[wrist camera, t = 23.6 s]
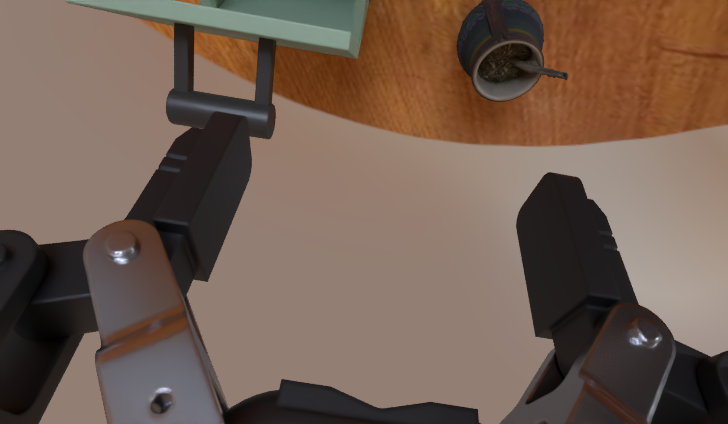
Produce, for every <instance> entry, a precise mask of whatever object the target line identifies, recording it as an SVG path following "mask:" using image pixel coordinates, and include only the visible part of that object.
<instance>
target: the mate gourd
mask: <svg viewBox="0 0 728 424" xmlns="http://www.w3.org/2000/svg"><path fill="white" fill-rule="evenodd" d="M543 42H544V31H543V24H542V22H541V20H540V17H539V14H537V12H536V11H535V10H534V9H533V8H532V7H531V6H530V5H529V4H528V3H526V2H524V1H522V0H484V1H482V2H481V3H480V4H479V5H478V6H477V7H475V8H474V9H473V10H472V11H471V12H470V13H469V14H468V15H467V17H466V18H465V20H464V21H463V24H462V27H461V30H460V32H459V35H458V41H457V52H458V58H459V61H460V64H461V65H462V67H463V69H464V71H465V72H466V73H467V74H468V75H469V76H470V77H471V80H472V84H473V87H474V89H475V90H476V92H477V93H478V94H479V95H480V96H482V97H483V98H485V99H488V100H491V101H497V102H502V101H509V100H512V99H515V98H518V97H520V96H522V95H523V94H525V93H526V92H528V91H529V90H530V89H531V88H532V87H533V86H534V85H535V84H536V83H537V82H538V80H539V78H540V77H541V74H542V75H547V76H549V77H553V78H555V77H558V78H562V79H565V80H567V79H568V74H567V73H565V72H560V71H556V70H553V69H547V68H544V56H543V53H542V46H543Z"/></svg>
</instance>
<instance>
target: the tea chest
mask: <svg viewBox="0 0 728 424" xmlns="http://www.w3.org/2000/svg"><path fill="white" fill-rule="evenodd" d="M200 4H201V5H202V6H208V7H214V8H220V9H225V10H231V11H237V12H242V13H248V14H254V15H259V16H265V17H271V18H276V19H282V20H288V21H293V22H299V23H305V24H311V25H316V26H322V27H328V28H333V29H339V30H345V31H350V32H351V34H352V36H353V38H354V40H355V42H356V44H357V46H358V48H359V49H360V44H361V39H362V34H363V29H364V24H365V19H366V14H367V9H368V4H369V0H200Z"/></svg>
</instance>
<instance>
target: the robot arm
mask: <svg viewBox="0 0 728 424" xmlns="http://www.w3.org/2000/svg"><path fill="white" fill-rule="evenodd" d="M251 167H252V157H251V148H250V138H249V129H248V121H247V118H246V117H245V116H242V115H236V114H231V113H225V112H220V111H215V112H214V113H213V114H212V115H211V117H210V119H209V121H208V122H207V124H206V126H205V127H204V129H200V128H195V127H192V128H190V129H189V130H188V131H186V132H185V133H184V134H182V135H181V136H179V137H178V138H176V139H175V141H174V142H173V144H172V146H171V147H170V149H169V150H168V152H167V154H166V157H164V158H163V160H162V162H161V163H160V165H159V168H158V170H156V171H155V173H154V174H153V176H152V177H151V179H150V181H149V182H148V184H147V185H146V187H145V189H144V190H143V192H142V193H141V195H140V197H139V198H138V200H137V201H136V203H135V204H134V206H133V208H132V209H131V211H130V212H129V214H128V215H127V217H126V218H125V219H124V220H122V221H118V222H114V223H112V224H109V225H107V226H105V227H103V228H102V229H100V230H98V231H97V232H96V233H95V234H94V235H92V237H91V238H90V239H87V240H81V241H72V242H62V243H52V244H44V245H38V244H37V243H36V242H35V241H34V240H33V239H32V238H31V236H29V235H28V234H26V233H24V232H20V231H16V230H0V424H39V422H40V420H41V418H42V416H43V414H44V412H45V410H46V408H47V406H48V404H49V402H50V400H51V398H52V396H53V394H54V392H55V390H56V388H57V386H58V384H59V382H60V381H61V378H62V377H63V374H64V373H65V371H66V369H67V367H68V365H69V363H70V361H71V359H72V357H73V355H74V353H75V351H76V349H77V347H78V345H79V343H80V341H81V339H82V337H83V335H84V333H89V332H96V331H99V333H100V339H101V348H100V349H99V350H97V351H96V354H95V364H96V371H97V376H98V380H99V386H100V390H101V395H102V400H103V405H104V410H105V414H106V419H107V424H481V423H479V420H478V409H473V408H465V407H460V406H453V405H447V404H440V403H433V402H427V403H420V404H413V405H406V406H398V407H391V408H383V409H382V408H377V407H374V406H372V405H369V404H367V403H365V402H363V401H361V400H358V399H356V398H354V397H352V396H349V395H348V394H346V393H343V392H341V391H339V390H337V389H335V388H332V387H329V386H323V385H316V384H309V383H303V382H297V381H290V380H284V379H282V380H281V384H280V389H279V390H275V391H268V392H265V393H261V394H258V395H255V396H253V397H250V398H248V399H245V400H243V401H242V402H240V403H238V404H236V405H234V406H233V407H231V408H230V409H229V407H228V405H227V402H226V399H225V396H224V394H223V391H222V388H221V386H220V383H219V381H218V378H217V376H216V373H215V370H214V368H213V366H212V363H211V360H210V358H209V355H208V352H207V350H206V347H205V344H204V341H203V339H202V336H201V333H200V330H199V328H198V325H197V322H196V319H195V317H194V314H193V311H192V309H191V306H190V303H189V300H188V298H187V292H188V290H189V288H190V286H191V283H192V281H193V279H194V280H200V281H206V282H208V279H209V277H210V274H211V272H212V270H213V267H214V264H215V262H216V260H217V257H218V255H219V252H220V250H221V247H222V245H223V242H224V240H225V237H226V235H227V233H228V230H229V228H230V225H231V223H232V220H233V218H234V215H235V213H236V211H237V208H238V206H239V203H240V200H241V198H242V195H243V193H244V191H245V188H246V186H247V183H248V181H249V177H250V173H251ZM516 228H517V234H518V240H519V246H520V251H521V256H522V263H523V268H524V274H525V280H526V285H527V291H528V296H529V302H530V308H531V313H532V319H533V325H534V330H535V336H536V337H541V338H547V339H553V342H554V346H555V348H554V349H553V350H552V351H551V352H550V353H549V354H548V355H547V357H546V359H545V361H544V362H543V363H542V365H541V367H540V368H539V370H538V372H537V373H536V375H535V377H534V378H533V380H532V381H531V383H530V385H529V386H528V388H527V389H526V391H525V393H524V394H523V396H522V397H521V399H520V401H519V402H518V404H517V405H516V407H515V408H514V409H513V410H512V411H511V412H510V413H509V414H508V415H507V416H506V417H505V418H504V419H503V420H502V421H501V423H500V424H728V351H725V352H723V353H720V354H718V355H715V356H713V357H710V356H708V355H706V354H703V353H702V352H699V351H697V350H695V349H693V348H691V347H689V346H686V345H684V344H682V343H680V342H678V341H676V340H674V338H673V335H672V333H671V332H670V330H669V329H668V327H667V326H666V324H665V323H664V322H663V321H662V320H661V319H660V318H659V317H658V316H657V315H655V314H654V313H653V312H652V311H650V310H648V309H647V308H645V307H642V306H640V305H639V304H638V301H637V299H636V296H635V293H634V291H633V288H632V285H631V282H630V280H629V277H628V275H627V272H626V269H625V266H624V263H623V261H622V258H621V255H620V253H619V251H617V244H616V242H615V239H614V237H612V231H611V228H610V225H609V223H608V220H607V217H606V216H605V214H604V213H603V212H602V211H601V209H600V208H599V207H598V205H597V204H596V203H595V202H594V201H593V200H591V199H587V196H586V193H585V190H584V187H583V184H582V182H581V180H580V179H579V178H578V177H573V176H567V175H561V174H557V173H551V172H549V173H547V174H545V175H544V176H543V177H542V179H541V180H540V182H539V183H538V184H537V186H536V187H535V189H534V190H533V192H532V193H531V194H530V196H529V197H528V199H527V200H526V202H525V203H524V204H523V206H522V207H521V209H520V211H519V214H518V217H517V224H516Z"/></svg>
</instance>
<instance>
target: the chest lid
mask: <svg viewBox="0 0 728 424" xmlns="http://www.w3.org/2000/svg"><path fill="white" fill-rule="evenodd" d="M66 2H68V3H72V4H76V5H80V6H85V7H90V8H94V9H99V10H103V11H107V12H112V13H117V14H121V15H126V16H130V17H135V18H139V19H144V20H148V21H153V22H157V23H162V24H166V25H171V26H174V88H173V89H172V90H171V91H170V92H169V94H168V97H167V102H166V113H167V117H168V119H169V121H170V122H171V123H173V124H178V125H184V126H190V127H196V128H202V129H204V127H205V126H206V124H207V122H208V121H209V119H210V117H211V115H212V114H213V113H214V112H215V111H220V112H225V113H231V114H236V115H242V116H245V117H246V118H247V121H248V129H249V136H251V137H258V138H265V139H270V138H271V137H272V134H273V131H274V127H275V118H276V112H275V106H274V105H273V104H272V92H273V79H274V66H275V54H276V45H278V46H284V47H289V48H295V49H301V50H307V51H313V52H318V53H324V54H330V55H336V56H341V57H347V58H353V59H358V55H359V48H358V46H357V44H356V42H355V40H354V38H353V36H352V34H351V32H350V31H345V30H339V29H333V28H328V27H322V26H316V25H311V24H305V23H299V22H293V21H288V20H282V19H276V18H271V17H265V16H259V15H254V14H248V13H242V12H237V11H231V10H225V9H220V8H214V7H208V6H202V5H197V4H191V3H185V2H180V1H174V0H66ZM194 31H198V32H203V33H208V34H214V35H220V36H226V37H232V38H237V39H243V40H249V41H255V42H259V45H258V61H257V76H256V92H255V101H252V100H246V99H239V98H233V97H228V96H222V95H215V94H210V93H204V92H198V91H193V85H194V79H193V78H194Z"/></svg>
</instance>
